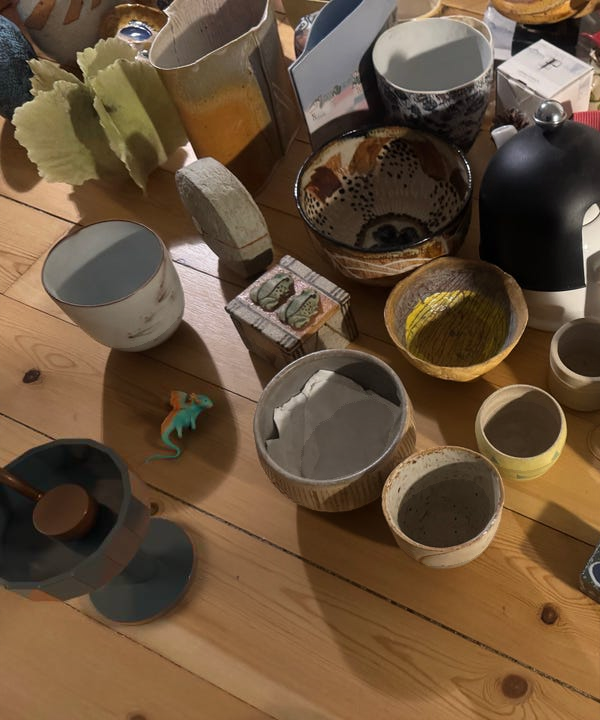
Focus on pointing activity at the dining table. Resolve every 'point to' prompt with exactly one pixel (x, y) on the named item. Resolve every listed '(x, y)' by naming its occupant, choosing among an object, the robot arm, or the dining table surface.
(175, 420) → the dragon figurine
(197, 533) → the dining table surface
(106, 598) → the bowl
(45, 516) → the ladle
